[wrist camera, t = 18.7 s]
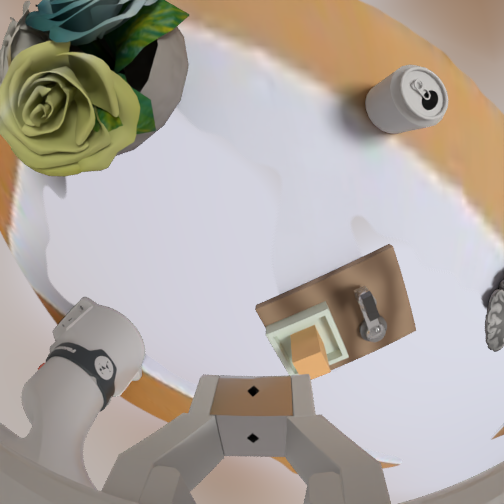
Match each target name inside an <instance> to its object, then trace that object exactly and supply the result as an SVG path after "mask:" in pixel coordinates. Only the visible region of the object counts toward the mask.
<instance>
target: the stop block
mask: <svg viewBox="0 0 504 504" xmlns="http://www.w3.org/2000/svg"><path fill="white" fill-rule="evenodd" d="M290 338H291V351H292V363H293V365H294V367H295V368H296V370H297V372H298V374H299V375H302V374H309V375H310V379H311V380H312V379H314V378H317V377H319V376H322V375H324V374H327V373H330V372H331V371H330V367H329V363H328V358H327V354H326V350H325V346H324V343H323V341H322V339H321V337H320V335H319V333H318V331H317V328H316V326H315V325H313V326H310V327H308V328H306V329H303V330H301V331H298V332H296V333H294V334H291V335H290Z"/></svg>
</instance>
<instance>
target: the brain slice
mask: <svg viewBox="0 0 504 504" xmlns="http://www.w3.org/2000/svg"><path fill="white" fill-rule="evenodd" d="M499 288H500V289H497V290H495V291H494V292H493V294H492V295H491V297H490V301H489V304H488V307H487V315H486V320H485V333H486V343H487V344H488V348H489V349H490V350H493V351H494V352H496V351H498V350H500V349H501V348H503V346H504V279H503V280H502V282H501V283H500V286H499Z"/></svg>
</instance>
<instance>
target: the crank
mask: <svg viewBox="0 0 504 504" xmlns="http://www.w3.org/2000/svg"><path fill="white" fill-rule="evenodd" d="M354 293H355V298H356V300H357V301H358V304H359V306H360V309H361V312H362V314H363V317H364V320H365V322H366V325H367V328H366V330H365V334H366V336H367V338H368V340H369V341H371V342H378V341H380V340H381V339H383V337H384V336H385V333H386V331H385V328H384V327H383V325H382V324H381V323H380V322H379V321H378V318H379V317H380V316H379V313H378V310H377V307H376V304H377V302H376V299H375V298H374V296H373V295H372V293H371V292H370V291H369V289H368V288H366V286H365V285H364V286H362V287H360V288H358V289H356V290H354Z"/></svg>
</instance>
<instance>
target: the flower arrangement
mask: <svg viewBox="0 0 504 504" xmlns="http://www.w3.org/2000/svg"><path fill="white" fill-rule="evenodd" d="M29 5H30V1H26V2H25V3H24V5H23V16H22V17H21V19H20V20H19V22H18V23H17V22H16V21H15V20H14V19H13V18H11V17H10V19H12V20H13V21H12V22H11V23H10V25H9V27H8V30H7V33H6V35H5V38H4V40H3V45H2V49H1V50H0V134H1V135H2V136H3V138H4V139H5V140H6V141H7V142H8V143H9V145H10V146H11V150H12V151H13V152H14V153H15V155H16V156H17V157H18V158H19V159H20V160H21V161H22V162H23V163H24V164H25V165H27V166H28V167H30V168H32V169H33V170H35V171H36V172H39V173H42V174H45V175H48V176H69V175H75V174H79V173H81V172H88V171H101V170H103V169H106V168H108V167H109V165H110V164H111V162H112V161H113V159H114V157H115V156H117V155H120V154H122V153H125V152H128V151H131V150H134V149H135V148H137V147H138V146H139V145H140V144H142V143H143V142H144V141H145V140H146V139H148V138H149V137H150V136H151V135H153V134H154V133H155V132H156V131H158V130H159V129H160V128H161V127H163V126H164V125H165V123H166V121H167V120H168V118H169V117H170V115H171V114H172V112H173V111H174V109H175V108H176V106H177V105H178V103H179V102H180V100H181V96H182V92H183V88H184V84H185V80H186V76H187V72H188V59H187V53H186V47H185V41H184V36H183V35H182V33H181V32H180V30H179V29H178V27H177V26H178V25H179V24H180V23H181V22H182V21H183V20H185V19H186V18H187V17H188V16H189V14H187V13H186V12H184V11H182V10H181V9H179V8H177V7H176V6H174V5H172V4H170V3H169V2H167V1H165V0H42V1H41V2H40V3H39V4H38V5H36V7H38V11H34V12H31V13H30V12H29V10H28V8H29Z"/></svg>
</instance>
